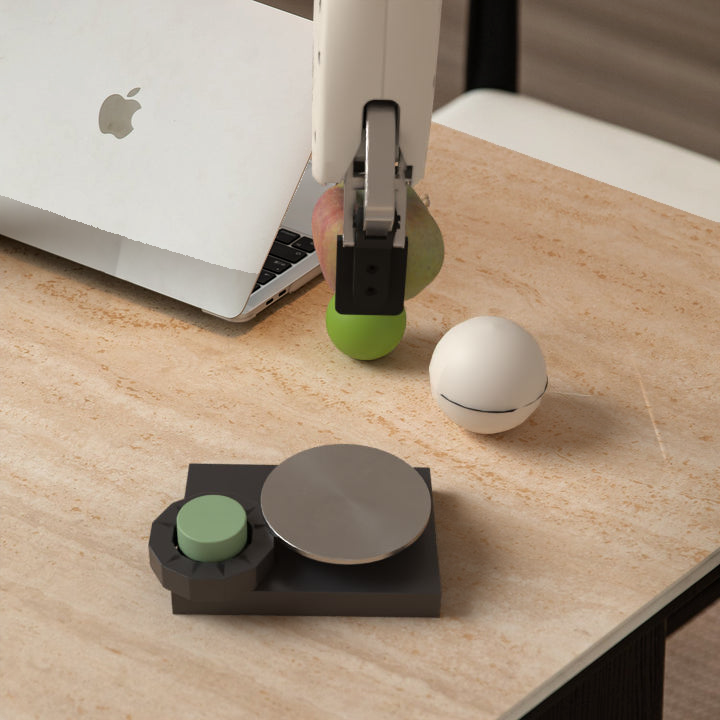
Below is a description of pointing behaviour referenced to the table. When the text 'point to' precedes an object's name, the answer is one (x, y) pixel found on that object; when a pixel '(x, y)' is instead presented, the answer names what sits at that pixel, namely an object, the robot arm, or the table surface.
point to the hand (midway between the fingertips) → (367, 270)
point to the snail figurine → (366, 329)
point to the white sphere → (488, 374)
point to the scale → (287, 564)
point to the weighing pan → (345, 504)
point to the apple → (419, 229)
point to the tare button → (212, 528)
